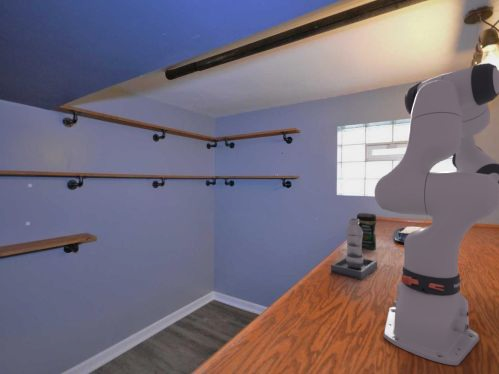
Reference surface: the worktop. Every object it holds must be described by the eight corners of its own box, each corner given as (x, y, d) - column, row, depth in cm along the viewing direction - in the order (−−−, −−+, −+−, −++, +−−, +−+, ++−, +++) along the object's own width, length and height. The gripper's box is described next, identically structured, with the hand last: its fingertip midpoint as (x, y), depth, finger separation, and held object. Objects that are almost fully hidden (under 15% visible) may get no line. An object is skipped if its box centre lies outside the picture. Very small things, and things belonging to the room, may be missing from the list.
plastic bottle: (365, 271, 100) (365, 220, 99) (347, 270, 101) (346, 220, 101) (361, 265, 106) (361, 218, 106) (344, 264, 108) (344, 217, 107)
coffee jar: (354, 248, 136) (354, 213, 135) (358, 244, 142) (358, 211, 141) (374, 251, 130) (374, 214, 129) (377, 247, 136) (377, 213, 135)
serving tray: (361, 280, 94) (361, 272, 94) (331, 272, 102) (330, 264, 102) (377, 268, 106) (377, 260, 106) (348, 261, 114) (348, 255, 114)
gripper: (435, 182, 109) (400, 182, 111) (466, 183, 88) (422, 184, 91) (435, 197, 109) (400, 197, 111) (466, 201, 89) (422, 201, 91)
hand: (410, 191), depth 101 cm, fingers open, 8 cm apart
